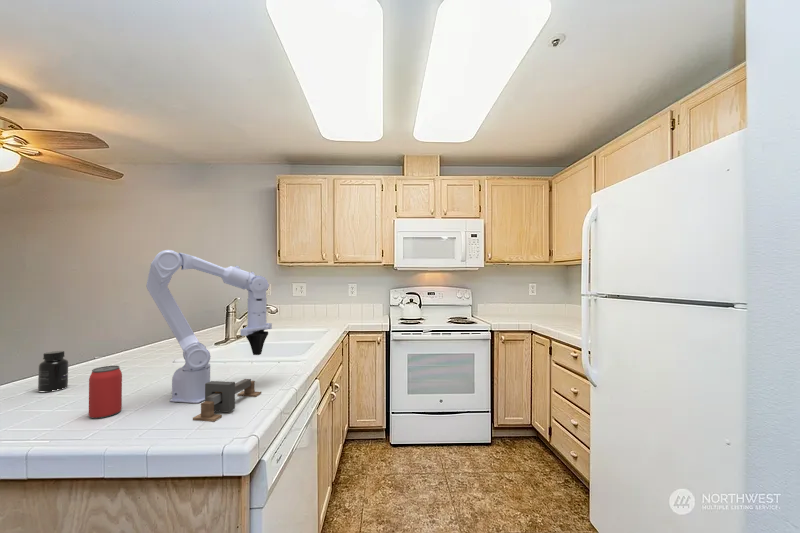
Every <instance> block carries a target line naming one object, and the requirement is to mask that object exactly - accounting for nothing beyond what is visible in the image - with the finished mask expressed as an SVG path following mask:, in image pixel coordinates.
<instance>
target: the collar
mask: <svg viewBox="0 0 800 533" xmlns="http://www.w3.org/2000/svg"><path fill="white" fill-rule="evenodd" d="M235 383H236V382H235V381H222V380H221V381H219V380H210V382H208V383H206V384H205V400H204V402H205V401H206V397H208V396H210V395H212V394H214V393H215V392H222V401H221V402H219V403H217V404H215V405H214V412H220V413H221V412H222V413H224V412H225V413H230V412H232V411H233V410H235V409H236V394H235Z"/></svg>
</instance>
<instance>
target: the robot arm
mask: <svg viewBox="0 0 800 533" xmlns="http://www.w3.org/2000/svg"><path fill="white" fill-rule="evenodd" d="M179 269H181V271H184V270H197V271H199V272H203V273H205V274H209V275H212V276H216V277H217V278H218V277H219V278H221V280H222V282H223V283H224V284H226V285H229V286H232V287H235V288H238V289H242V290H246V291H247V326H245V327H244V328H241V329H240V336H242V337H243V336H244V337H246V340H248V343H249V345H250V349H251V352H252V355H253V356H260V355H262V352H263V347H264V344H265V341H266V339H267V337H268V335H269V331H268V330H271V329H273V327H272V326H273V323H271V322H267V316H268V315H267V291H268V289H269V287H270V283H269V282H268V281H269V280H268V279H267V278H266V277H264V275H263V276H262V275H257V274H256V273H255V272H254V271H247V270H243V269H241V267H240V266H238V265H235V266H234V265H230V266H227V267H224V266H222V265H221V266H220V265H218V264H216V263H213V262H210V261H207V260H206V259H202V258H200V257H198V256H195V255H191V254H188V253H184V252H179V253H178V252H176V251H175V250H172V249H165V250H164V249H163V250H161V251H160V252H158V253H157V254H156V255H155V257H154V259H153V260H152V261H151V263H150V267H149V271H148V276H147V281H146V289H147V291H148V293H149V295H150V296H151V298H152V300H153V301H154V303H155V304H156V307H157V308H158V310H159V311H160V314H161V315H162V316H163V318H164V320H165V322H166V323H167V325H168V327H169V329H170V330H171V333H172V334H173V336H174V337H175V339H176V340H177V343H178V344H179V346H180V348H181V350H182V357H183V359H184V362H185V363H184V365H183V366H182V367H179V368H178V369H176V370H175V371H174V373H173V375H172V378H171V399H169V402H174V403H189V404H190V403H192V404H193V403H194V404H200V403H202V402H205V384H206V383H208V382H210V381H211V363H210V361H211V357H212V356H211V352H210V350H209V349H207V347H206V346H205V345H204V344H203V343H201V342H200V341H199V339H198V338H197V336H196V334H195V333H194V331H193V329H192V328H191V325H190V324H189V322H188V320H187V319H186V316H185V315H184V313H183V312H182V310H181V308H180V306H179V305H178V303H177V300H176V299H175V298H174V295H173V294H172V293H171V290H170V289H169V287H168V285H169V283H170V282H171V280H172V277H173V275H175V273H176V272H177V271H178V270H179ZM255 274H256V275H255Z"/></svg>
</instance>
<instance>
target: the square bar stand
mask: <svg viewBox="0 0 800 533" xmlns="http://www.w3.org/2000/svg"><path fill="white" fill-rule="evenodd" d="M255 383H256V382H255V380H252V379H251V378H243V379H242V380H239V381H238V382H235V395H237V397H248V398H256V397H259V396H260V395H262V391H255V390H256V388H255ZM221 401H222V392H215V393H214V394H212V395H210V396H208V397H206V401H205V400H204V401H202V402H200V413H199V414H197V415H195V416H193V417H192V421H199V422H201V421H202V422H216V421H218V420H220V419H221V418H222V417H223V414H217V413H216V414H215V411H214V405H215V404H217V403H219V402H221Z"/></svg>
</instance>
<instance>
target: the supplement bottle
mask: <svg viewBox="0 0 800 533" xmlns="http://www.w3.org/2000/svg"><path fill="white" fill-rule="evenodd" d="M64 357H65V351H64V350H56V351H49V352H44V353H43V357H42V360H43V361H42V362H40V363H39V365H38V375H37V376H38V380H37V385H38V386H37V391H38V392H39V391H52V390H57V389H62V388H65V387H68V385H69V361H68V360H67V359H66V358H64ZM65 389H66V388H65ZM62 390H63V389H62Z"/></svg>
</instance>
